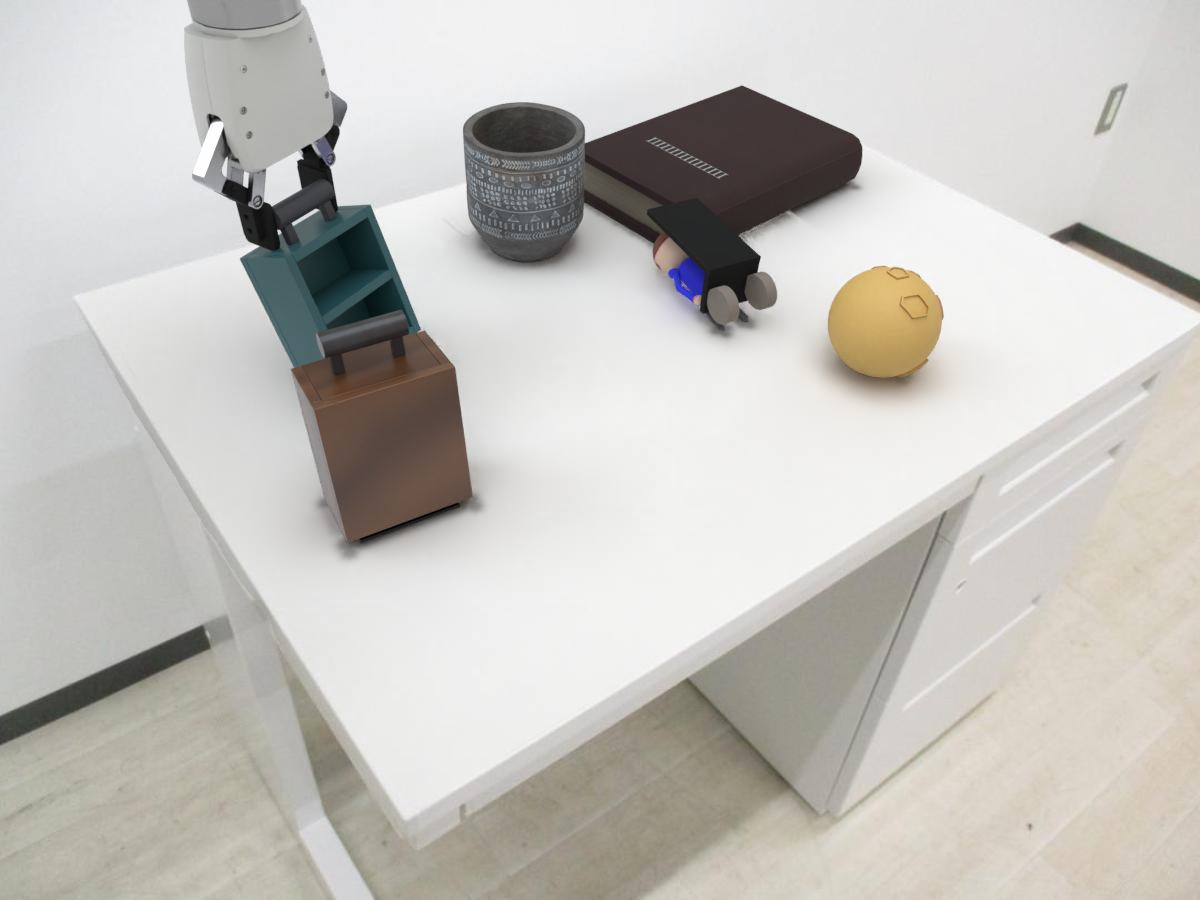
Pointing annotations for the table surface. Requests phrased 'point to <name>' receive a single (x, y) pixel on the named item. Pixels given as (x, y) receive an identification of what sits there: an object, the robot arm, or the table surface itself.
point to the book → (719, 162)
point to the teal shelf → (324, 271)
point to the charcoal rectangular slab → (409, 522)
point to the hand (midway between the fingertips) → (293, 224)
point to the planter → (525, 178)
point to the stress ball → (885, 322)
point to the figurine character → (709, 262)
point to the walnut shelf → (383, 424)
